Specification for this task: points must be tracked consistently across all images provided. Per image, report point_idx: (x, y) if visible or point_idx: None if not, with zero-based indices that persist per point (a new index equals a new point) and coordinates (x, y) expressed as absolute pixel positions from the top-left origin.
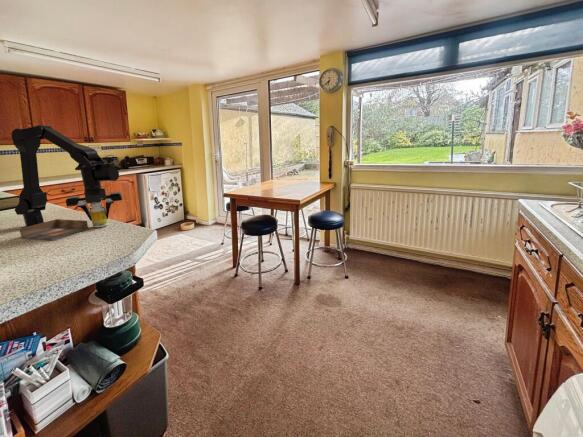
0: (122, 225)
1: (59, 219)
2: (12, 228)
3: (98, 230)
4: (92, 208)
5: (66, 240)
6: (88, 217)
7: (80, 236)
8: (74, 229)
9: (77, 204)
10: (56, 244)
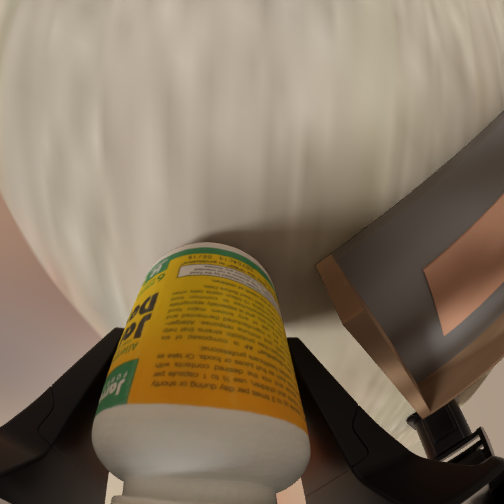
0: (37, 208)
1: (423, 411)
2: (461, 402)
3: (232, 143)
4: (270, 483)
5: (462, 30)
6: (323, 366)
7: (394, 41)
8: (406, 282)
9: (491, 495)
10: (487, 6)
